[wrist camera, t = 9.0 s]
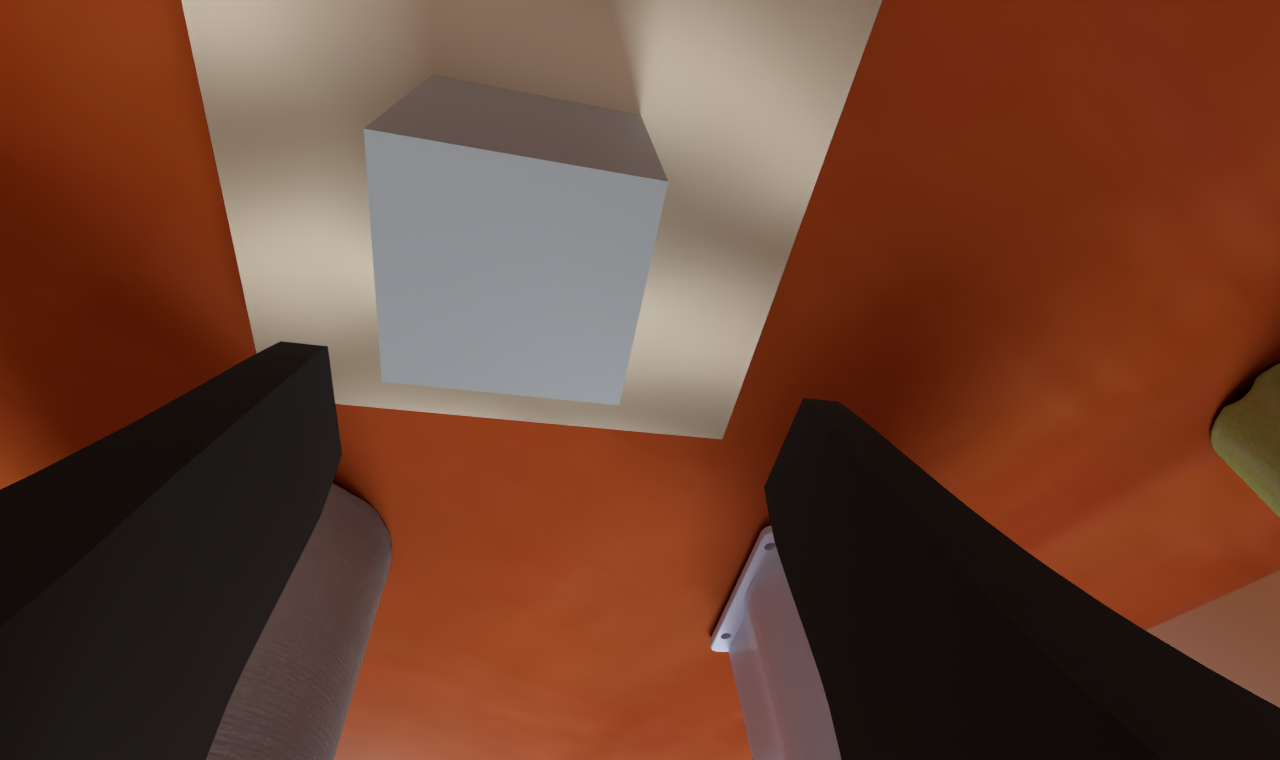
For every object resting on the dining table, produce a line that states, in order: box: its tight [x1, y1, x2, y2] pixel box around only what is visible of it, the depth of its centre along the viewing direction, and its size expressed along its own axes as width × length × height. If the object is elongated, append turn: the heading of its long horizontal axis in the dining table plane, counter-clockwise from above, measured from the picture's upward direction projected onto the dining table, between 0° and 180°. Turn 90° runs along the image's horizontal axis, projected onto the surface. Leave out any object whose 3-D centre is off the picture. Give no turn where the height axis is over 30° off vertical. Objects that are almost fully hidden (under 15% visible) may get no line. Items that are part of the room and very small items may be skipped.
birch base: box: [181, 0, 882, 439], centre depth 15 cm, size 14×14×2 cm
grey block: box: [364, 75, 668, 405], centre depth 12 cm, size 5×5×5 cm
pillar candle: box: [206, 483, 392, 760], centre depth 17 cm, size 10×10×15 cm
